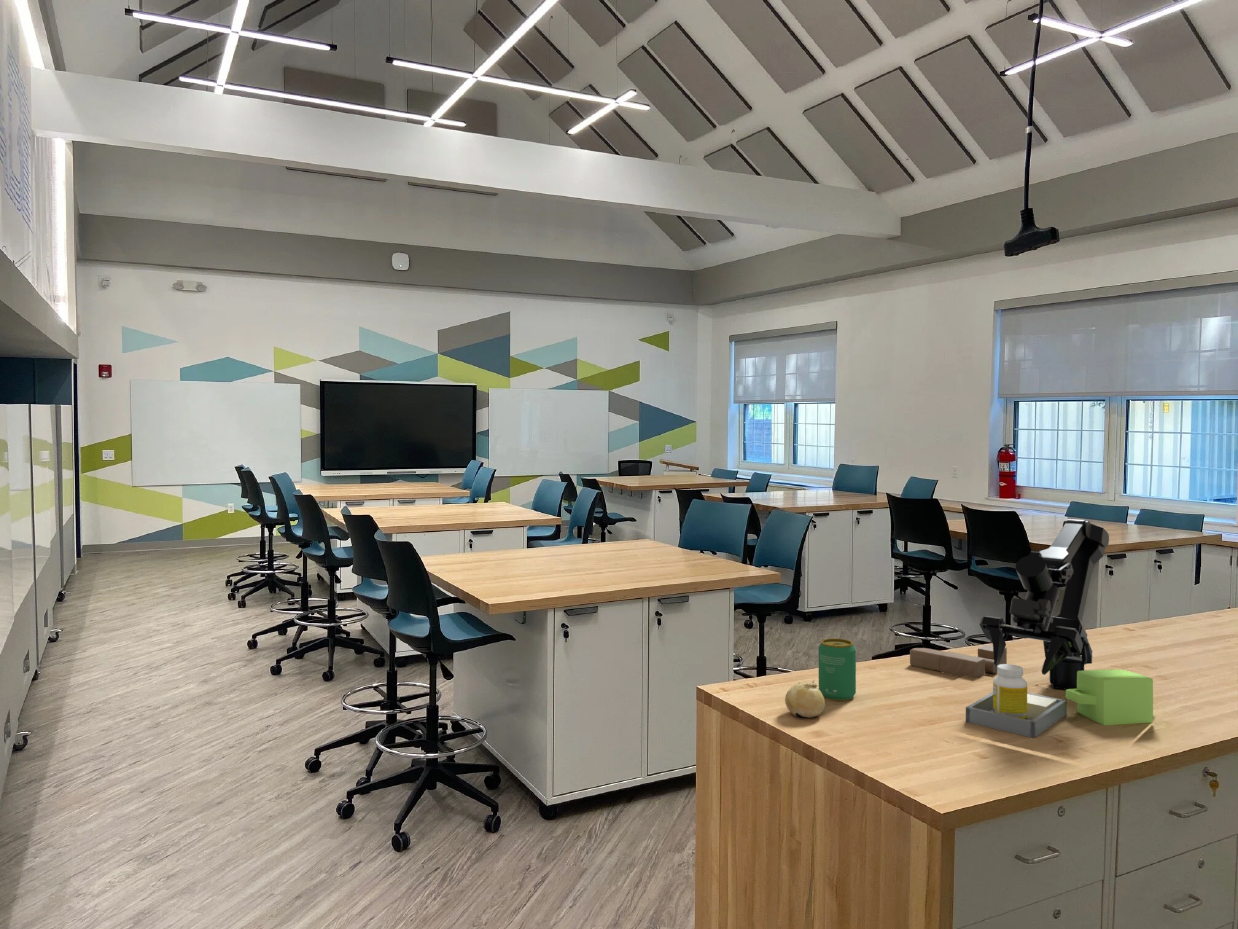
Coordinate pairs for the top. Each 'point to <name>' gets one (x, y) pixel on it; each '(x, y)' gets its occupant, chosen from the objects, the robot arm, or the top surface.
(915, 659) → the wooden block set
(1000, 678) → the pill bottle
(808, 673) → the top surface
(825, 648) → the beverage can
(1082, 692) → the green tabbed block
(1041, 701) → the cream rectangular block
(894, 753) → the top surface
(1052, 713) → the tote
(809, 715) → the onion
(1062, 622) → the robot arm
